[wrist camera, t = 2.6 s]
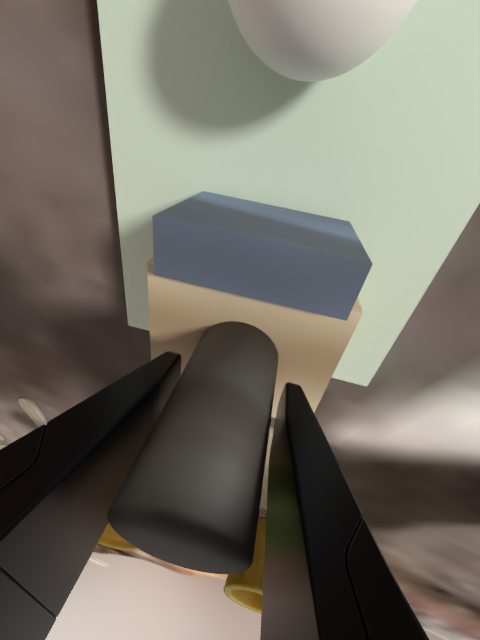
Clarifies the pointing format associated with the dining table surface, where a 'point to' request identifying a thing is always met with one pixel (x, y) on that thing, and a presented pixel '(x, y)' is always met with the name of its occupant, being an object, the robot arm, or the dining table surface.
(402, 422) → the dining table surface
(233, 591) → the tableware set
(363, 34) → the ball
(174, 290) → the sled
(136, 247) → the pitch
